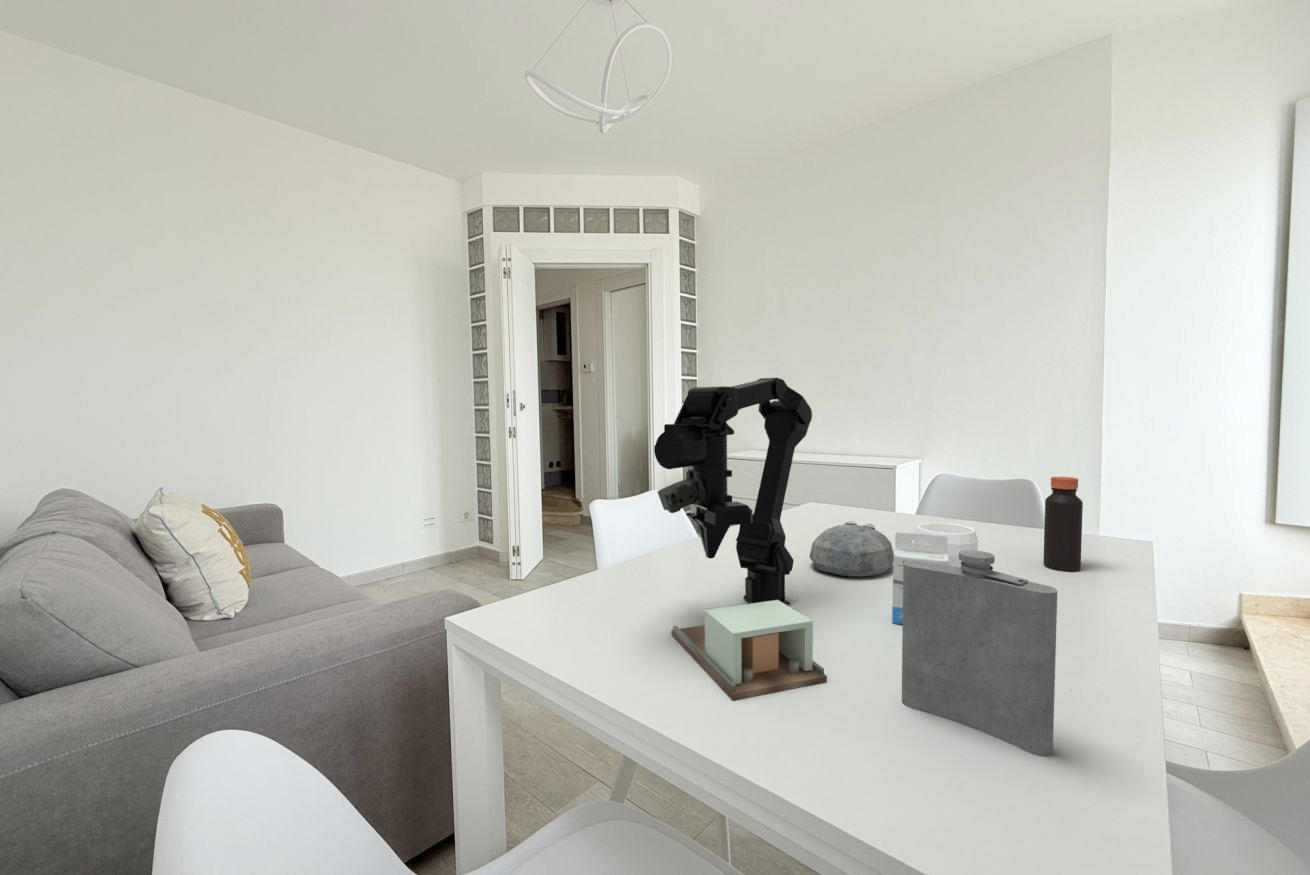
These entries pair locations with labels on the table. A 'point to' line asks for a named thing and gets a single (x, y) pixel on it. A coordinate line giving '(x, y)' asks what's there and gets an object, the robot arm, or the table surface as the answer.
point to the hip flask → (981, 649)
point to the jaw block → (760, 652)
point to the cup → (951, 538)
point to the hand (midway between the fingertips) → (710, 557)
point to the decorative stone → (852, 550)
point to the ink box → (914, 552)
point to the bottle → (1063, 525)
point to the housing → (756, 634)
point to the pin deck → (748, 669)
